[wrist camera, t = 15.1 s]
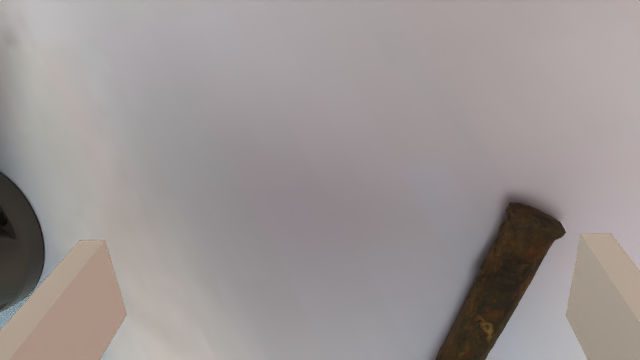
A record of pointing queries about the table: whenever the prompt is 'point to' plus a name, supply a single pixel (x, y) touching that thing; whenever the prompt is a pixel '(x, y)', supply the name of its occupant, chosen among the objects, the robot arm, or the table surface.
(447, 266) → the table surface
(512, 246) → the hand tool
